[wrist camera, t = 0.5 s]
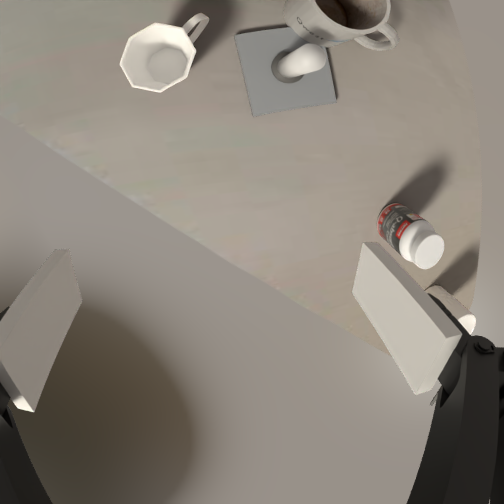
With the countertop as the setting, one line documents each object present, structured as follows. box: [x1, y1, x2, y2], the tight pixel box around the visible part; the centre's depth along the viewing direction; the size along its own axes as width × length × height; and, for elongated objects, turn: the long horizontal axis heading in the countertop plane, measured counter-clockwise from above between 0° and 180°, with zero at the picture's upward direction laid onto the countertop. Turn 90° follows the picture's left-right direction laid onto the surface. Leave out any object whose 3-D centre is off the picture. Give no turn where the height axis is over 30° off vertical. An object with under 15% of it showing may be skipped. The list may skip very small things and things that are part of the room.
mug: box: [284, 0, 399, 51], centre depth 25 cm, size 12×9×10 cm
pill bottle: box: [377, 203, 444, 269], centre depth 37 cm, size 6×6×10 cm
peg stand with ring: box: [234, 27, 337, 117], centre depth 27 cm, size 10×10×10 cm
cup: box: [120, 13, 209, 93], centre depth 26 cm, size 7×10×8 cm
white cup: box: [425, 285, 476, 335], centre depth 46 cm, size 8×8×10 cm
